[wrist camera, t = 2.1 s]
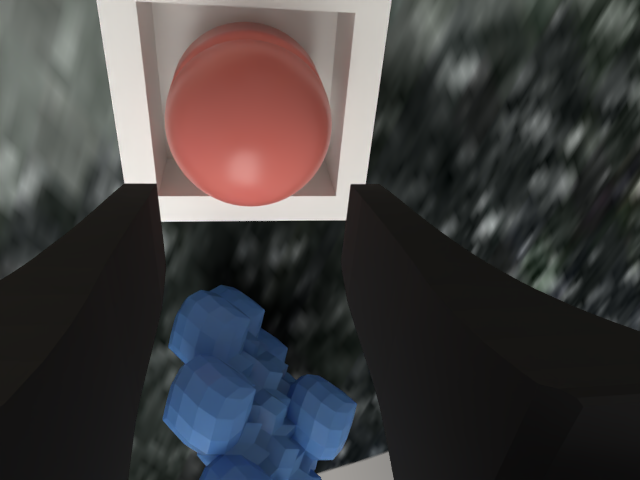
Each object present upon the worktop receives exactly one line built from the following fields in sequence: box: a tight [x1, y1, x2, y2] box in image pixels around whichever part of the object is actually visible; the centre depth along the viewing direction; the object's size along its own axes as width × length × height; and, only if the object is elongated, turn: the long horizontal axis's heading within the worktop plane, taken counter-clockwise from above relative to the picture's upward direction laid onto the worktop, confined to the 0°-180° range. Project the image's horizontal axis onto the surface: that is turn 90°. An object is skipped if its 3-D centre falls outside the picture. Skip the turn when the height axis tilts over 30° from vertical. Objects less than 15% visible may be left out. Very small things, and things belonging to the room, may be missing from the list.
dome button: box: [164, 22, 332, 207], centre depth 15 cm, size 5×5×5 cm
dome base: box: [97, 0, 392, 222], centre depth 17 cm, size 8×8×3 cm
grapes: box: [163, 285, 357, 480], centre depth 21 cm, size 12×7×12 cm, turn 19°
